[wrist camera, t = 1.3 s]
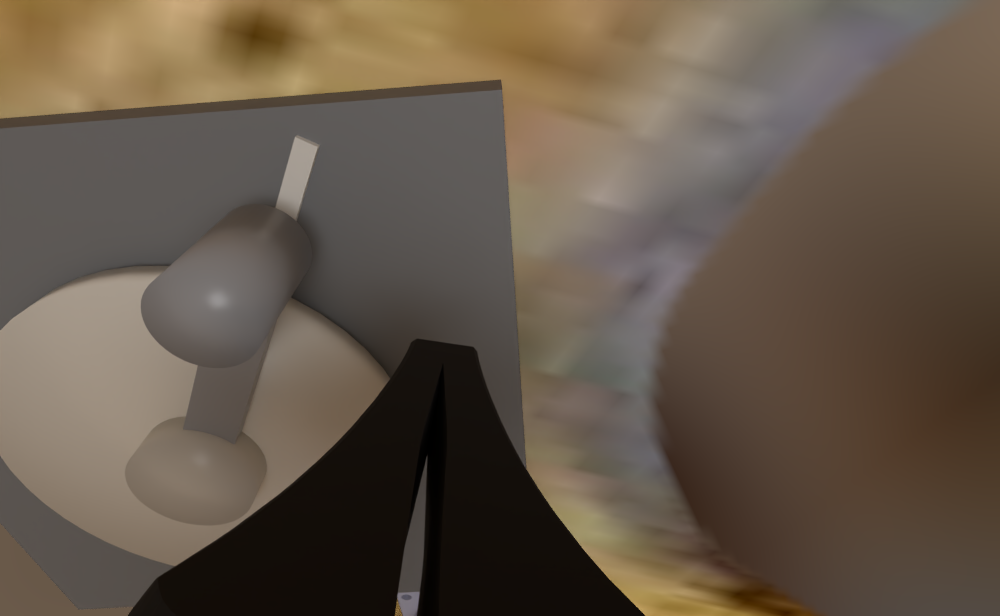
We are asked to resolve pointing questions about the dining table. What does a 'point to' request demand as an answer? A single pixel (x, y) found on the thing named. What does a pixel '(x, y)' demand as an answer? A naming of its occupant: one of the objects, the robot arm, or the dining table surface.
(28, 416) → the dial
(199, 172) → the dial plate
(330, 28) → the dining table surface
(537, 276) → the dining table surface
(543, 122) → the dining table surface
